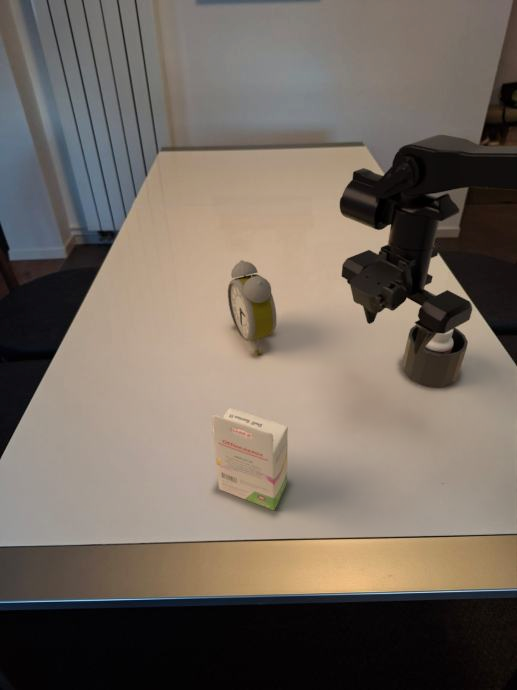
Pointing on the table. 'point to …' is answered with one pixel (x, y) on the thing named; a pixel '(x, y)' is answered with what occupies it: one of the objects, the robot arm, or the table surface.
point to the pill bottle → (441, 343)
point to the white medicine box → (251, 457)
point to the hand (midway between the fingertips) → (392, 337)
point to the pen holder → (434, 361)
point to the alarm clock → (251, 304)
